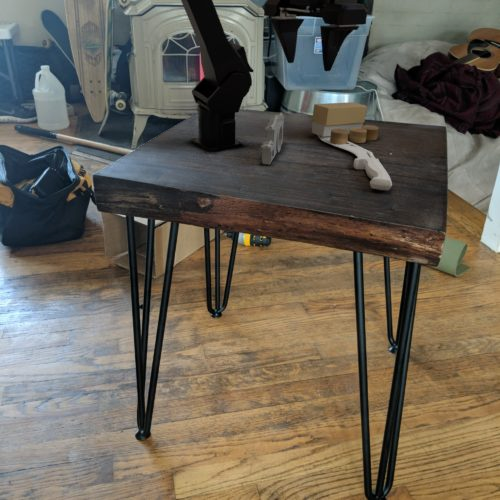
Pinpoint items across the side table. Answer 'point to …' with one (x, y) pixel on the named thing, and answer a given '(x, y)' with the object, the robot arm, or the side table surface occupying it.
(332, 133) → the tan squat cylinder
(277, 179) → the side table surface
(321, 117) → the oblong tan box
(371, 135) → the crumb
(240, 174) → the side table surface
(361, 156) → the knife
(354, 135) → the short tan cylinder
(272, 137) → the garden wall model
